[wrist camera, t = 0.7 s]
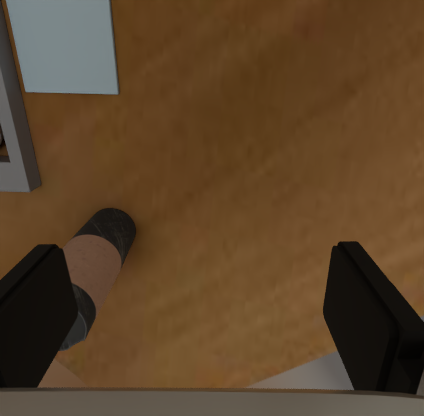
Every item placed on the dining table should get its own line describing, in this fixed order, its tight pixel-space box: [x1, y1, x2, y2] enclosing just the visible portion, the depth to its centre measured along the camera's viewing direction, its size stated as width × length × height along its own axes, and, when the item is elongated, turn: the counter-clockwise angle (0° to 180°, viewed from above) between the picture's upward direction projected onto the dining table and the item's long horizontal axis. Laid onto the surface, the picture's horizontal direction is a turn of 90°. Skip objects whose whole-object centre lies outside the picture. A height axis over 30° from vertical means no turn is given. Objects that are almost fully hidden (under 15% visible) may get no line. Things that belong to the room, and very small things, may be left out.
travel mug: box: [58, 208, 136, 351], centre depth 40 cm, size 8×8×20 cm
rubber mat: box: [6, 0, 119, 94], centre depth 38 cm, size 12×12×1 cm
